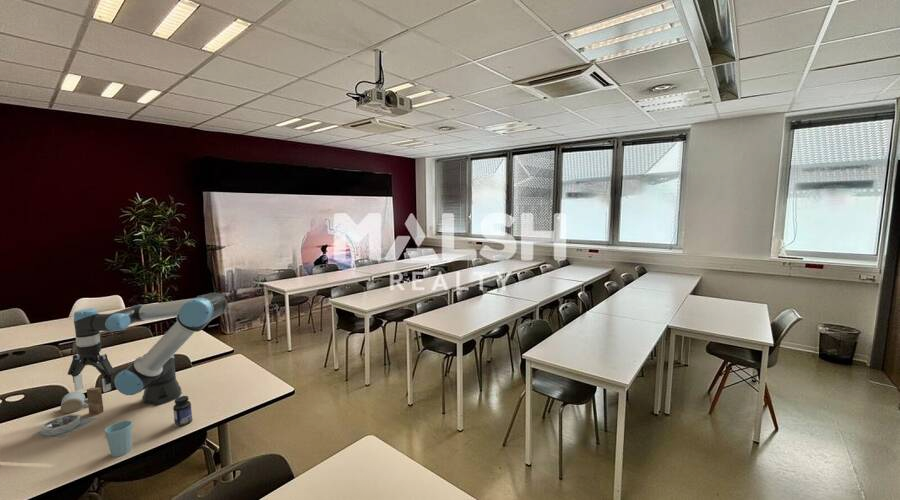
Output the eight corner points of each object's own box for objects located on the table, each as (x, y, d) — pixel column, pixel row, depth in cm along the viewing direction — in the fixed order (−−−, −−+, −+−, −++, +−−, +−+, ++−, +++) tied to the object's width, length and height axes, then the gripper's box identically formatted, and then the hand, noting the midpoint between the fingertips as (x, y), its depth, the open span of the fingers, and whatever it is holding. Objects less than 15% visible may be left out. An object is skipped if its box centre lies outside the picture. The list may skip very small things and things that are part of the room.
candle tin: (64, 420, 158) (64, 413, 158) (88, 420, 157) (87, 413, 157) (34, 435, 147) (33, 428, 147) (59, 436, 146) (58, 428, 146)
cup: (107, 451, 138) (105, 425, 137) (134, 443, 143) (132, 418, 142) (106, 461, 132) (103, 434, 131) (134, 452, 137) (132, 426, 136)
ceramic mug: (60, 417, 162) (59, 400, 161) (62, 410, 168) (61, 394, 167) (94, 408, 169) (92, 393, 168) (94, 402, 175) (93, 386, 174)
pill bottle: (195, 418, 160) (193, 394, 159) (187, 426, 154) (185, 401, 153) (179, 419, 159) (177, 395, 158) (171, 427, 153) (169, 402, 152)
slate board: (97, 419, 160) (97, 417, 160) (61, 439, 146) (61, 437, 146) (70, 418, 161) (70, 416, 160) (31, 438, 147) (31, 436, 147)
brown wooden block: (94, 412, 165) (91, 387, 164) (103, 413, 165) (101, 387, 164) (89, 415, 163) (86, 389, 162) (98, 415, 163) (95, 390, 161)
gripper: (123, 342, 164) (127, 387, 166) (72, 340, 165) (76, 385, 167) (106, 348, 156) (110, 395, 158) (52, 346, 158) (57, 393, 160)
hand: (93, 390), depth 163 cm, fingers open, 13 cm apart
